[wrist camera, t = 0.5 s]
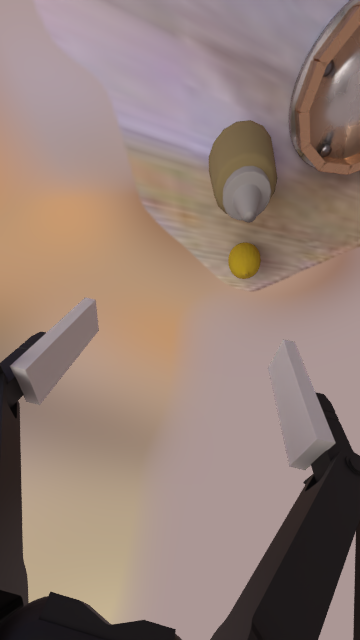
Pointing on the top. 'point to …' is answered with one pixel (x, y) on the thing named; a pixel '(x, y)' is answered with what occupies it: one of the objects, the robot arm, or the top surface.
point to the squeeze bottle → (243, 170)
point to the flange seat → (330, 97)
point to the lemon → (244, 260)
